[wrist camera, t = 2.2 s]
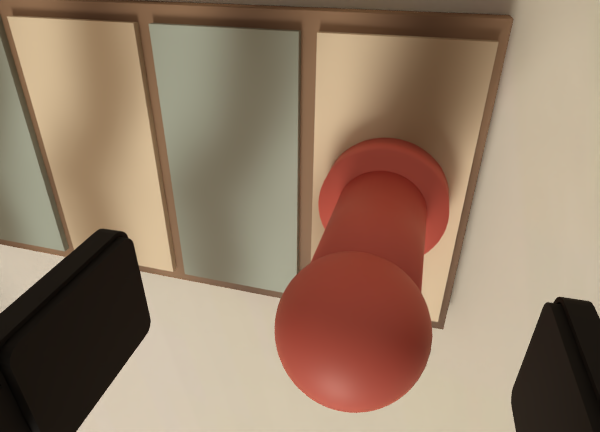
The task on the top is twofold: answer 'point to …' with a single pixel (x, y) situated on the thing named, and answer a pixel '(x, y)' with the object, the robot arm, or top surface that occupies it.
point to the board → (229, 126)
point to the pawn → (366, 279)
